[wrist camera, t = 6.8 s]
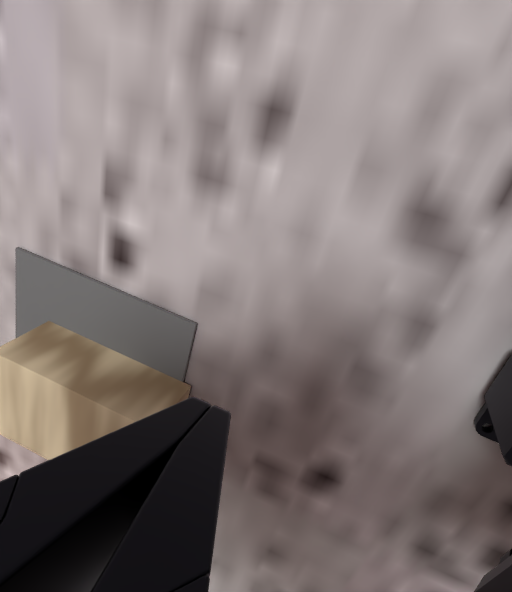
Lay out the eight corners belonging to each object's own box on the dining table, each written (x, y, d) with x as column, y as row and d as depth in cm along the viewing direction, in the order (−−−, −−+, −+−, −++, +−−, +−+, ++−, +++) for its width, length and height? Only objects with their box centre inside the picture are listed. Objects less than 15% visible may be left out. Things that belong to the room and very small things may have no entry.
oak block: (153, 430, 20) (-9, 351, 22) (137, 508, 23) (-6, 431, 24) (191, 385, 23) (49, 320, 25) (173, 457, 26) (45, 393, 28)
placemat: (197, 323, 22) (195, 324, 22) (158, 491, 28) (156, 493, 28) (18, 247, 24) (15, 248, 24) (17, 418, 30) (15, 420, 30)
